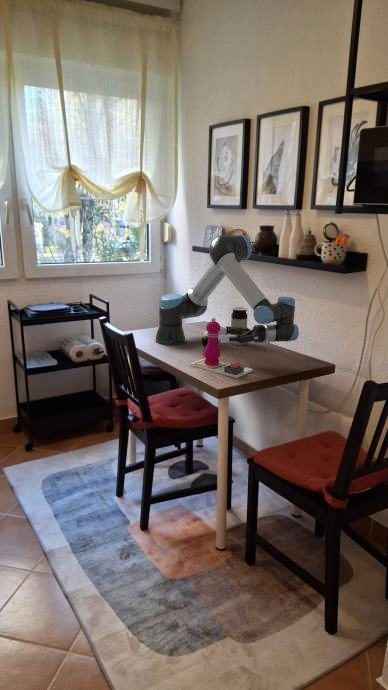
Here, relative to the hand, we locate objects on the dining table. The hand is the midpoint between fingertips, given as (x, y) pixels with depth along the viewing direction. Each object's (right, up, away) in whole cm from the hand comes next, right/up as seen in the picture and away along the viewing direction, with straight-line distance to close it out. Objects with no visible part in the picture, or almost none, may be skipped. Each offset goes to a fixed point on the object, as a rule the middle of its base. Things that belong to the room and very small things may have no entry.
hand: (216, 335), depth 213 cm
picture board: (+2, -14, +1) cm, 14 cm away
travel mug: (+13, -3, +42) cm, 44 cm away
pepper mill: (-2, -12, +3) cm, 13 cm away
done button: (+7, -14, -7) cm, 17 cm away
